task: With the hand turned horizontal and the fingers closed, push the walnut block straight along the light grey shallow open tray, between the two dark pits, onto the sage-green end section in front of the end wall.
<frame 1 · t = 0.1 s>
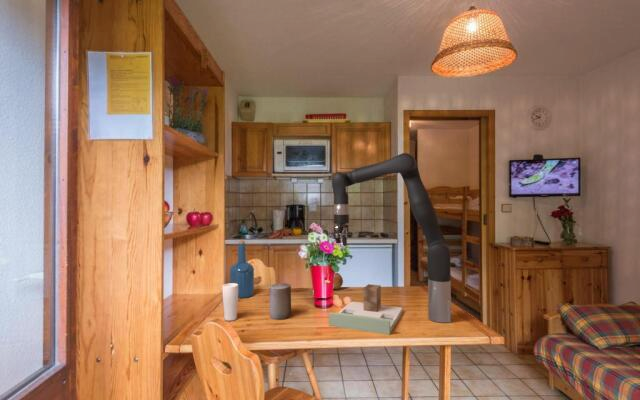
hand: (341, 247, 166), 29 cm above the table, tool pointing down, fingers open, 8 cm apart
drinking glass: (230, 319, 149), on the table
walnut block: (372, 308, 157), point 2 cm above the table, touching shallow open tray
shallow open tray: (368, 317, 150), on the table
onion: (334, 289, 199), on the table
pillar candle: (280, 316, 153), on the table
wine bottle: (241, 296, 186), on the table
game die: (319, 299, 179), on the table
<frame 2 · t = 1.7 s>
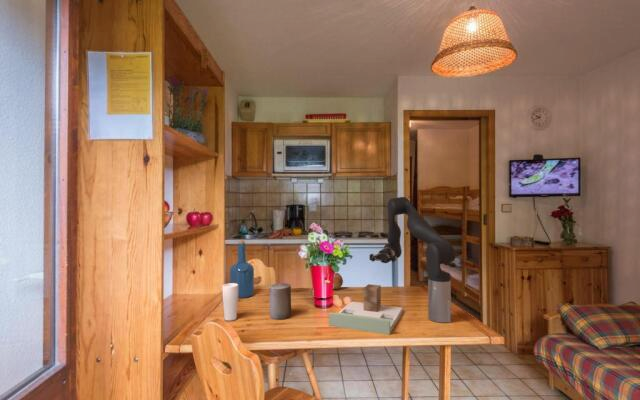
hand: (379, 259, 170), 22 cm above the table, tool horizontal, fingers open, 6 cm apart
nothing on the table moved.
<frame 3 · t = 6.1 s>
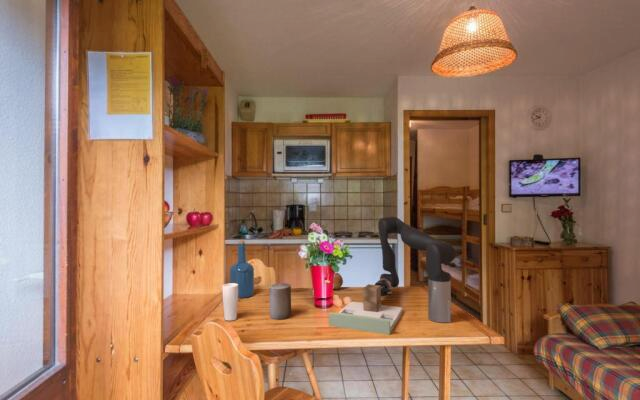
hand: (374, 295, 160), 7 cm above the table, tool horizontal, fingers closed
walnut block: (372, 308, 156), point 2 cm above the table, touching gripper
everything else where it was.
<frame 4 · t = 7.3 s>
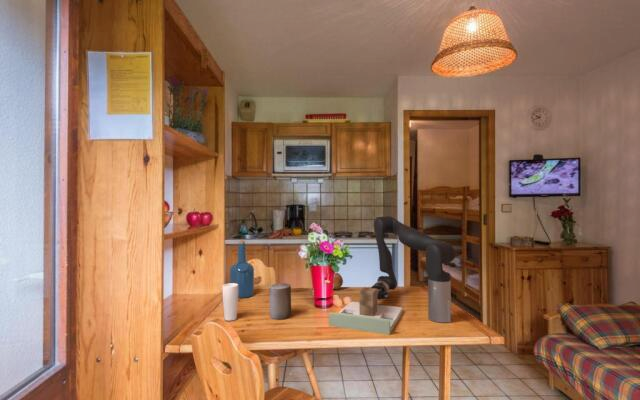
hand: (370, 298, 154), 7 cm above the table, tool horizontal, fingers closed
walnut block: (368, 312, 151), point 2 cm above the table, touching gripper
everything else where it was.
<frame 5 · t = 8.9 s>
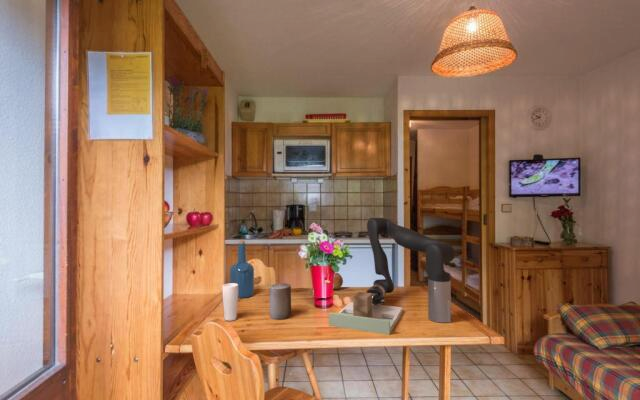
hand: (365, 304, 147), 7 cm above the table, tool horizontal, fingers closed
walnut block: (363, 318, 143), point 2 cm above the table, touching gripper, shallow open tray
everything else where it was.
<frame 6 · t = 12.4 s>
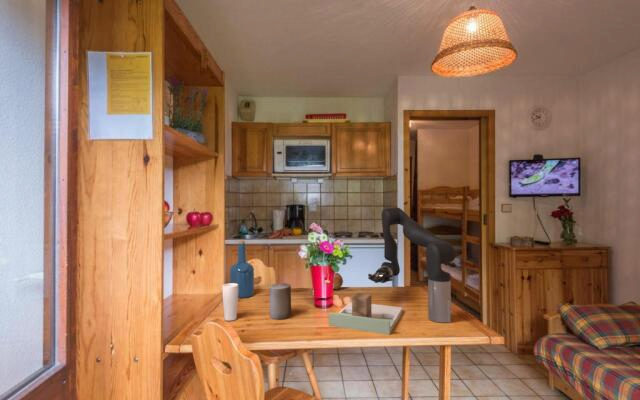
hand: (376, 280, 163), 13 cm above the table, tool horizontal, fingers closed
walnut block: (361, 320, 141), point 2 cm above the table, touching shallow open tray
everything else where it was.
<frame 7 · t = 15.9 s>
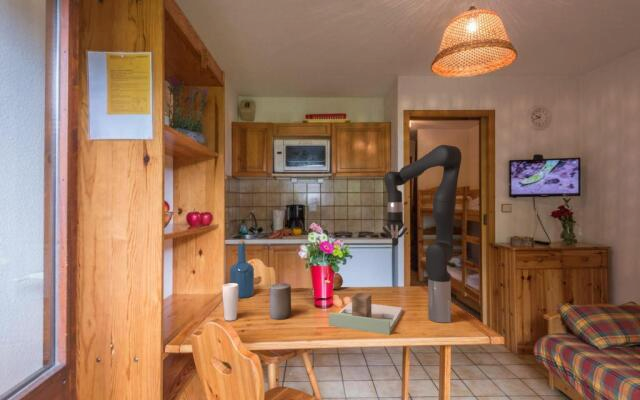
hand: (395, 245, 171), 29 cm above the table, tool pointing down, fingers closed
nothing on the table moved.
at the end: walnut block 0.2 cm from the target spot, point 2.0 cm above the table; walnut block tilted 0° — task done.
